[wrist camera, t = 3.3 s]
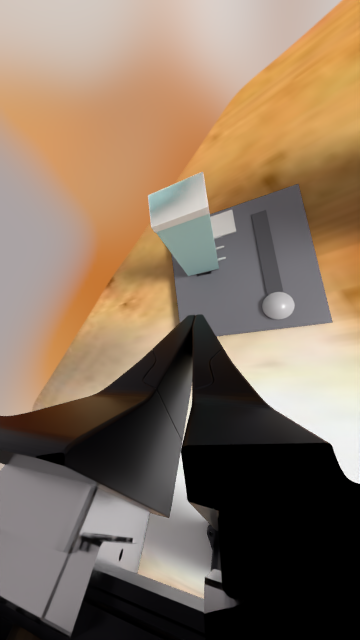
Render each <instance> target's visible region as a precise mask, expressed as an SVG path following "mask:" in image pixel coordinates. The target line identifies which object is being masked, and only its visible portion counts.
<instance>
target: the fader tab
mask: <svg viewBox="0 0 360 640" xmlns="http://www.w3.org/2000/svg"><path fill="white" fill-rule="evenodd" d="M148 201H149V210H150V220H151V228H152V229H153V230H154V232H155V233H157V234H158V236H159V237H160V238H161V240H162V241H163V243H164V244H165V245H166V247H167V248H168V249H169V251H170V252H171V253H172V255H173V256H174V258H175V259H176V260H177V262H178V263H179V264H180V266H181V267H182V268H183V270H184V271H185V272H186V274H187V275H188V276H191V275H195V274H201V273H206V272H209V271H211V270H215V269H219V265H218V259H217V253H216V247H215V241H214V236H213V230H212V224H211V219H210V212H209V206H208V200H207V194H206V187H205V181H204V175H203V172H201V173H198V174H196V175H194V176H191V177H189V178H187V179H185V180H182V181H180V182H178V183H175V184H173V185H171V186H169V187H166V188H164V189H162V190H159V191H157V192H155V193H152V194H150V195H148Z"/></svg>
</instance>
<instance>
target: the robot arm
mask: <svg viewBox="0 0 360 640" xmlns="http://www.w3.org/2000/svg"><path fill="white" fill-rule="evenodd" d="M152 350H153V351H152ZM152 350H151V351H150V352H149V353H148V354H147V355H146V356H144V357H143V358H142V359H141V360H140V361H139V362H138V363H136V364H135V365H134V366H133V367H132V368H130V369H129V370H128V371H127V372H125V373H124V374H123V375H122V376H120V377H119V378H118V379H117V380H115V381H114V382H113V383H112V384H110V385H109V386H108V387H106V388H105V389H104V390H102V391H100V392H99V393H97V394H94V395H92V396H89V397H85V398H82V399H78V400H74V401H70V402H67V403H63V404H59V405H55V406H52V407H48V408H44V409H40V410H37V411H33V412H29V413H25V414H19V415H14V416H0V463H2V464H5V466H4V467H3V468H2V470H1V471H0V640H360V484H358V483H355V482H353V481H351V480H349V479H348V478H347V477H346V476H345V475H344V473H343V471H342V470H341V468H340V466H339V464H338V461H337V459H336V456H335V454H334V451H333V447H332V445H331V444H330V443H328V442H326V441H325V440H323V439H322V438H320V437H318V436H317V435H315V434H313V433H312V432H310V431H308V430H307V429H305V428H304V427H302V426H300V425H299V424H297V423H295V422H294V421H292V420H290V419H289V418H287V417H285V416H284V415H282V414H281V413H279V412H277V411H276V410H274V409H273V408H272V407H270V406H269V405H268V404H267V403H266V402H265V401H264V400H263V399H262V398H261V397H260V396H259V395H258V393H257V392H256V391H255V390H254V389H253V387H252V386H251V385H250V384H249V383H248V381H247V380H246V379H245V378H244V377H243V375H242V374H241V373H240V372H239V370H238V369H237V368H236V367H235V365H234V364H233V363H232V361H231V360H230V358H229V357H228V355H227V354H226V352H225V350H224V349H223V347H222V345H221V344H220V342H219V340H218V339H217V337H216V335H215V334H214V332H213V330H212V329H211V327H210V325H209V324H208V322H207V320H206V319H205V317H204V315H203V314H198V315H196V316H195V315H188V316H187V317H186V318H185V319H184V320H183V321H181V322H180V323H179V324H178V325H177V326H176V327H175V328H174V329H173V330H172V331H171V332H170V333H169V334H168V335H167V336H166V337H165V338H164V339H163V340H161V341H160V342H159V343H158V344H157V345H156V346H155V347H154V348H153V349H152ZM191 386H192V391H193V393H192V407H191V411H190V415H189V419H188V423H187V428H186V432H185V436H184V440H183V434H184V428H185V422H186V416H187V410H188V404H189V398H190V392H191ZM182 440H183V444H182ZM181 446H182V448H181ZM180 452H181V455H182V462H183V469H184V476H185V484H186V492H187V500H188V502H189V503H190V504H191V505H192V506H193V507H194V508H195V509H196V510H197V511H198V512H199V513H200V514H201V515H202V516H203V517H204V518H205V519H206V520H207V521H208V523H209V524H210V525H209V526H208V528H207V535H208V538H209V541H210V544H211V547H212V550H213V551H212V563H211V572H210V573H209V574H208V575H207V576H206V577H205V586H204V599H203V598H200V597H197V596H195V595H192V594H189V593H187V592H184V591H182V590H179V589H176V588H174V587H171V586H168V585H166V584H163V583H160V582H158V581H155V580H152V579H150V578H147V577H145V576H142V575H139V574H137V573H138V568H139V564H140V559H141V554H142V549H143V544H144V539H145V534H146V529H147V525H148V520H149V515H150V513H152V514H156V515H160V516H164V517H167V518H169V517H170V511H171V506H172V500H173V494H174V488H175V482H176V476H177V470H178V464H179V458H180ZM210 531H211V532H210ZM212 532H213V533H212Z"/></svg>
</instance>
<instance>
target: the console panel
mask: <svg viewBox="0 0 360 640" xmlns="http://www.w3.org/2000/svg"><path fill="white" fill-rule="evenodd" d="M210 219H211V224H212V230H213V236H214V241H215V247H216V253H217V259H218V265H219V269H215V270H211V271H209V272H206V273H201V274H195V275H191V276H188V275H187V274H186V272H185V271H184V270H183V268H182V267H181V266H180V264H179V263H178V262H177V260H176V259H175V258H174V256H173V255H172V261H173V270H174V278H175V287H176V295H177V303H178V312H179V320H180V322H181V321H183V320H184V319H185V318H186V317H187V316H188V315H195V316H196V315H198V314H203V315H204V317H205V319H206V320H207V322H208V324H209V325H210V327H211V329H212V330H213V332H214V334H215V335H216V336H223V335H231V334H240V333H248V332H256V331H265V330H273V329H281V328H290V327H298V326H307V325H315V324H323V323H332V318H331V314H330V310H329V306H328V302H327V298H326V294H325V290H324V286H323V282H322V278H321V274H320V270H319V266H318V261H317V257H316V253H315V249H314V245H313V241H312V237H311V233H310V229H309V225H308V221H307V217H306V213H305V209H304V205H303V201H302V197H301V193H300V189H299V185H298V184H296V185H293V186H290V187H288V188H285V189H282V190H279V191H276V192H273V193H270V194H268V195H265V196H262V197H259V198H256V199H253V200H250V201H247V202H245V203H242V204H239V205H236V206H233V207H230V208H227V209H225V210H222V211H219V212H216V213H213V214H210Z"/></svg>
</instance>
